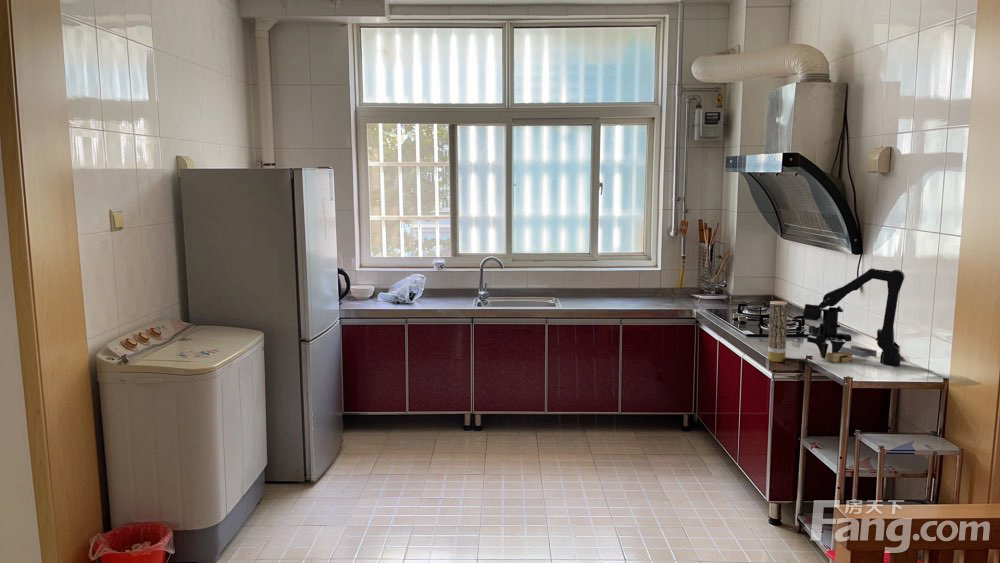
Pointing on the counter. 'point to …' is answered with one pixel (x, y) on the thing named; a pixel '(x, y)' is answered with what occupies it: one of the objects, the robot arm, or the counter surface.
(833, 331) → the robot arm
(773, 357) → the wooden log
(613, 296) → the counter surface
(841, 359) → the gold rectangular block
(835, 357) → the light wood notched block
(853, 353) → the grey u channel block
